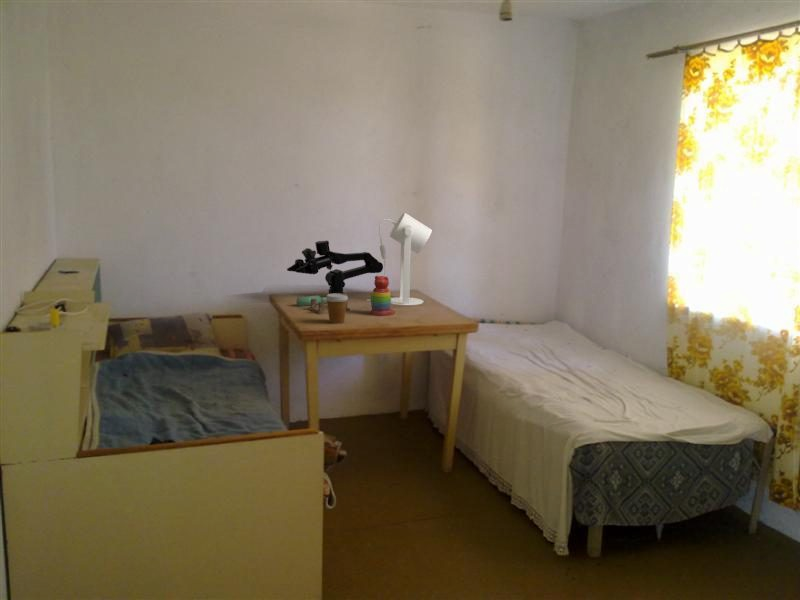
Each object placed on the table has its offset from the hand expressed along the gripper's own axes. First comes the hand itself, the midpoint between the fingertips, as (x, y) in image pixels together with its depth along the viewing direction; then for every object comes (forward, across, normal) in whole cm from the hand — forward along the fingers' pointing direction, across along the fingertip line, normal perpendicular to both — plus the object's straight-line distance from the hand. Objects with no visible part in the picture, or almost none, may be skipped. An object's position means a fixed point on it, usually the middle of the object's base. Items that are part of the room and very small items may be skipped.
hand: (291, 270), depth 319 cm
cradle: (-5, +22, +19) cm, 29 cm away
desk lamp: (-45, +21, +26) cm, 56 cm away
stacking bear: (-22, +41, +23) cm, 52 cm away
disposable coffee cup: (+4, +46, +19) cm, 49 cm away
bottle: (-5, +8, +18) cm, 20 cm away
